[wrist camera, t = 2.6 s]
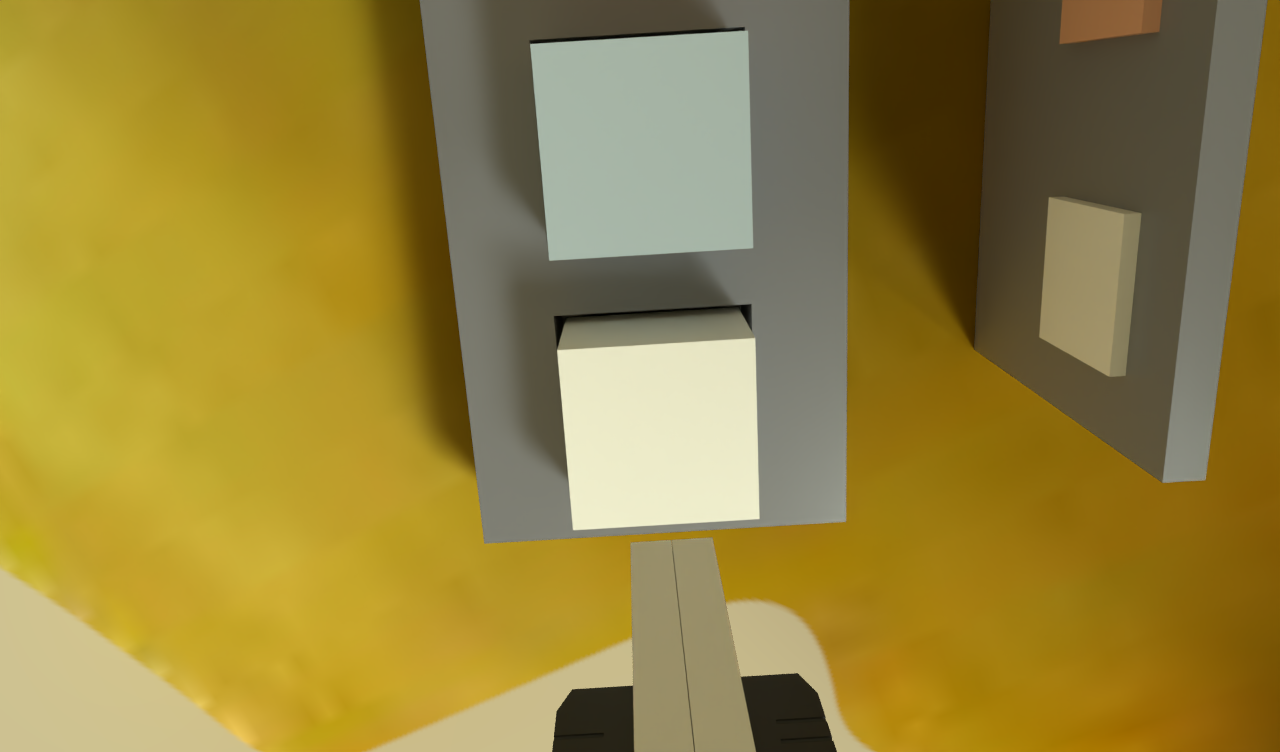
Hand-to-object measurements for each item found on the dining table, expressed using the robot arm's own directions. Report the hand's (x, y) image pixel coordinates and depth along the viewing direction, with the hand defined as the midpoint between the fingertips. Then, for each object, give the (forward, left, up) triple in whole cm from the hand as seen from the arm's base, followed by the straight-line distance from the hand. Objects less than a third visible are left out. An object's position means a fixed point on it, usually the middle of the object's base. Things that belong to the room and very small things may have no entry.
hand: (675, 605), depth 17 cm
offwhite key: (0, 0, -13) cm, 13 cm away
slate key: (+8, 0, -13) cm, 15 cm away
